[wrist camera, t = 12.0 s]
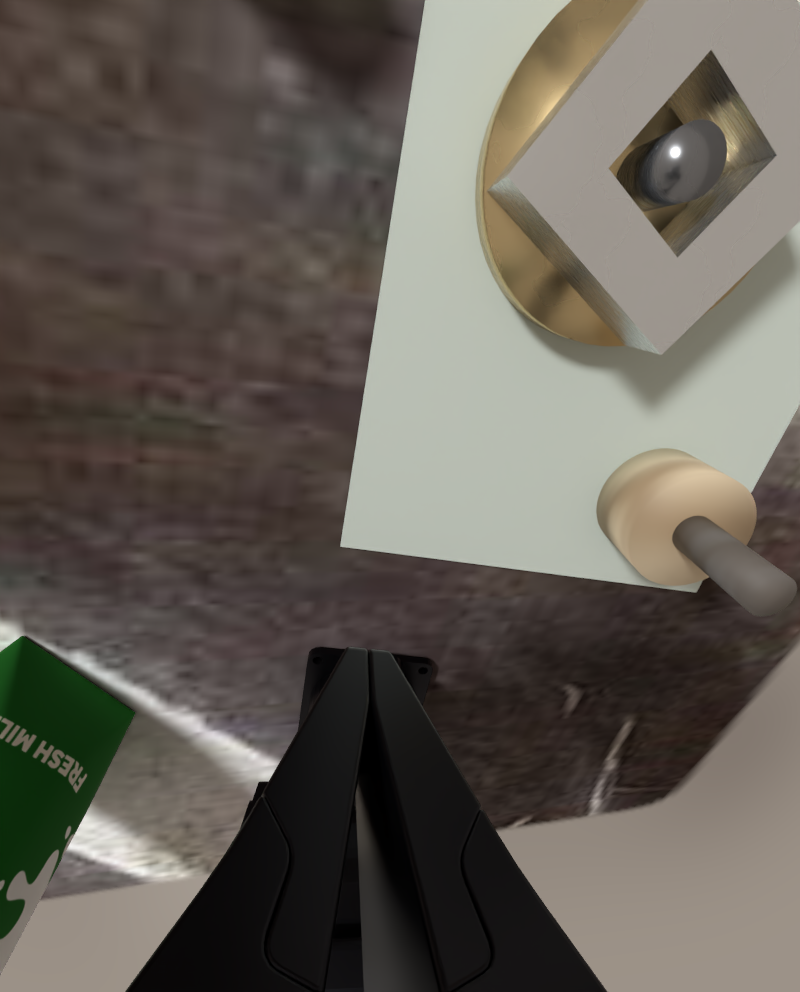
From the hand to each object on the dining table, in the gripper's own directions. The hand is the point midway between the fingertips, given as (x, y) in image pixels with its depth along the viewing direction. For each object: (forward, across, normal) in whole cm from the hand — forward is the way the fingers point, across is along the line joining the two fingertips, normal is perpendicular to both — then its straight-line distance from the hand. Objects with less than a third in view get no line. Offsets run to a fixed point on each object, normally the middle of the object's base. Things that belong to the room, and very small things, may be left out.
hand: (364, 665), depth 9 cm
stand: (+12, -13, 0) cm, 17 cm away
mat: (+12, -8, -6) cm, 16 cm away
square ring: (+10, -7, -11) cm, 16 cm away
